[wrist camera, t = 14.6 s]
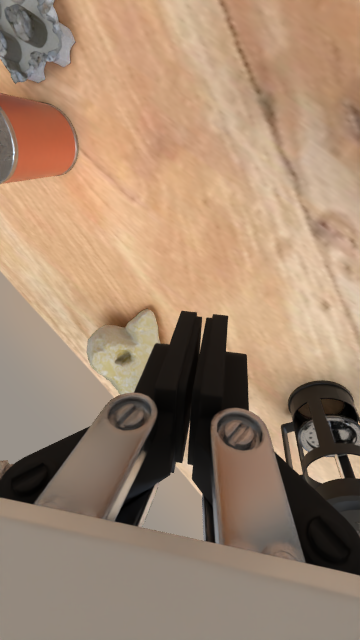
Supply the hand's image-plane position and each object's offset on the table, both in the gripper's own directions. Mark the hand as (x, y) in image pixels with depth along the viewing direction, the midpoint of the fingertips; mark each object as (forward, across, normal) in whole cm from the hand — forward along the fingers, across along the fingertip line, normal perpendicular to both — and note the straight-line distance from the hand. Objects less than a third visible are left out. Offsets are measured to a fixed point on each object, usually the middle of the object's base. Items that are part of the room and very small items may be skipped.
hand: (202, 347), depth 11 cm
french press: (+27, -17, +28) cm, 43 cm away
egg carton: (+27, +21, -17) cm, 38 cm away
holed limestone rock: (+27, +10, +22) cm, 37 cm away
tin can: (+27, +21, -6) cm, 35 cm away
